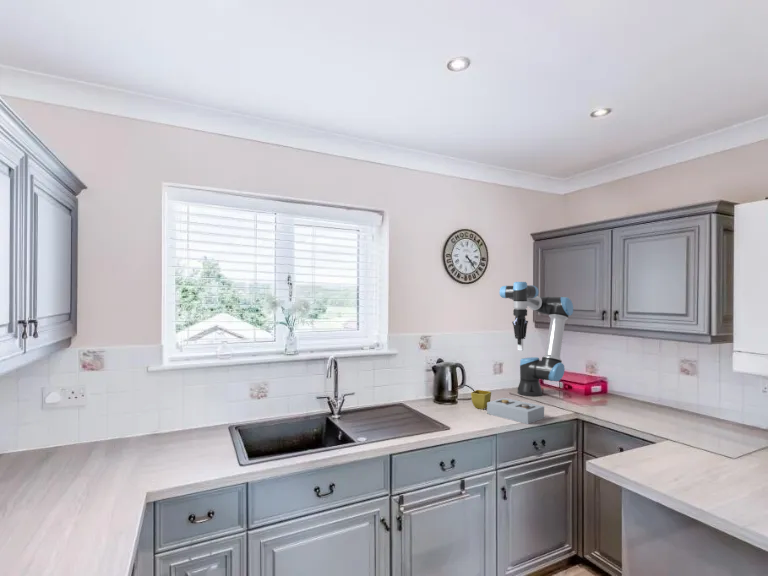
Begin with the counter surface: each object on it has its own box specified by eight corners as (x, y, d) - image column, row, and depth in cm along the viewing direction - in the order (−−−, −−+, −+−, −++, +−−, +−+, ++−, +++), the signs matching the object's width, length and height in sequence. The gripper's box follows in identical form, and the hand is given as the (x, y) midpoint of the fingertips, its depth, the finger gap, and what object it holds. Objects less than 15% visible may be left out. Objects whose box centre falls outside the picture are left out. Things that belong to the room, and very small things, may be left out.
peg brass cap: (504, 411, 231) (504, 399, 231) (510, 412, 228) (510, 400, 228) (500, 412, 228) (500, 400, 228) (506, 413, 226) (506, 401, 226)
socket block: (504, 408, 238) (503, 397, 238) (544, 417, 220) (544, 405, 220) (487, 413, 227) (487, 402, 228) (527, 424, 209) (527, 411, 209)
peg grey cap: (524, 415, 222) (524, 403, 222) (530, 417, 219) (530, 405, 219) (520, 417, 219) (520, 404, 219) (526, 418, 217) (526, 406, 217)
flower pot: (485, 411, 233) (485, 394, 233) (470, 408, 238) (470, 392, 238) (491, 407, 240) (491, 391, 240) (477, 405, 245) (477, 389, 245)
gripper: (520, 308, 248) (520, 348, 248) (508, 308, 239) (508, 350, 239) (532, 308, 242) (532, 349, 242) (519, 309, 234) (520, 352, 233)
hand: (520, 350), depth 240 cm, fingers closed
